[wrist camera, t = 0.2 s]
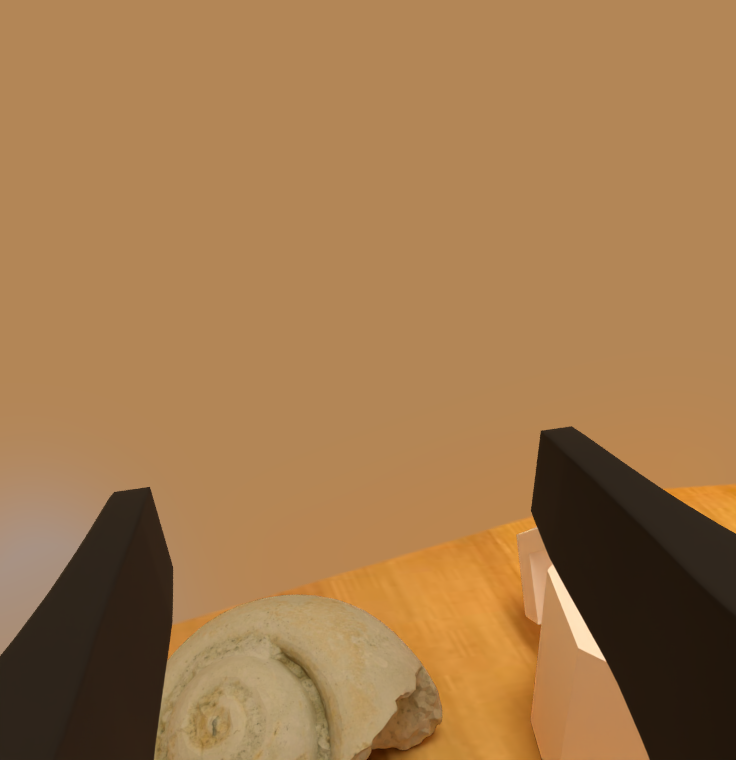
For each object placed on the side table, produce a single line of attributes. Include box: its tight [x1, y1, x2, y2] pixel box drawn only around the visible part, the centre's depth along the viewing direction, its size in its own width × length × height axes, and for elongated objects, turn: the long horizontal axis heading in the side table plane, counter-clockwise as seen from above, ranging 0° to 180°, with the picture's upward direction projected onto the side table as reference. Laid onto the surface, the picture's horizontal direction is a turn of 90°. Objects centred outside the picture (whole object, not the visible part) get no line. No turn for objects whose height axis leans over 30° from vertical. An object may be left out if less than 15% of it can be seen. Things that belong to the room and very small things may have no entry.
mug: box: [517, 527, 650, 760], centre depth 28 cm, size 12×9×10 cm
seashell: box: [154, 595, 442, 760], centre depth 28 cm, size 13×8×10 cm
